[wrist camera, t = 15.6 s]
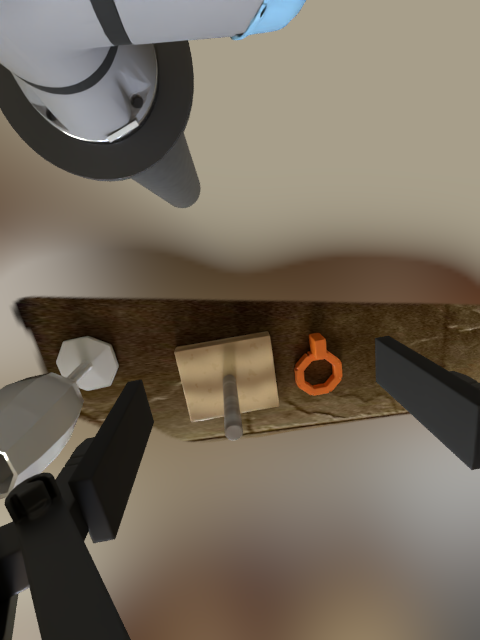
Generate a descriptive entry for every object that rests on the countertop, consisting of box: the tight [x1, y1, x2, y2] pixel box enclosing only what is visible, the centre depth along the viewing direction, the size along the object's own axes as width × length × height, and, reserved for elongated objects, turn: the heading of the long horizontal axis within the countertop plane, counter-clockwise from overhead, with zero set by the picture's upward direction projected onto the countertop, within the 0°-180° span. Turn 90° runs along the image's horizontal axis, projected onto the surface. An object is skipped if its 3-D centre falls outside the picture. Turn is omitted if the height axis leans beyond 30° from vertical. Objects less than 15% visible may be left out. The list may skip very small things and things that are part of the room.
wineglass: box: [0, 336, 119, 499], centre depth 33 cm, size 9×9×21 cm
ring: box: [294, 333, 342, 396], centre depth 44 cm, size 10×7×3 cm
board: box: [175, 331, 279, 440], centre depth 39 cm, size 12×14×14 cm
